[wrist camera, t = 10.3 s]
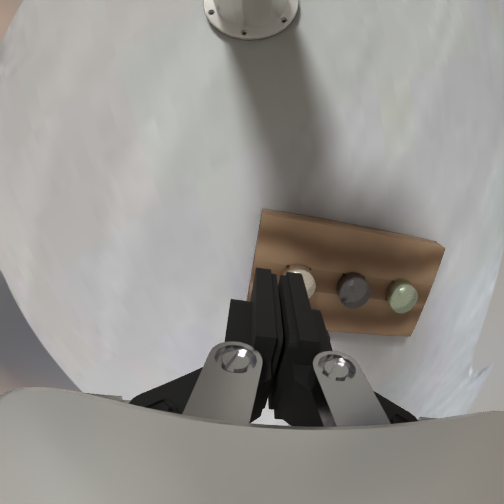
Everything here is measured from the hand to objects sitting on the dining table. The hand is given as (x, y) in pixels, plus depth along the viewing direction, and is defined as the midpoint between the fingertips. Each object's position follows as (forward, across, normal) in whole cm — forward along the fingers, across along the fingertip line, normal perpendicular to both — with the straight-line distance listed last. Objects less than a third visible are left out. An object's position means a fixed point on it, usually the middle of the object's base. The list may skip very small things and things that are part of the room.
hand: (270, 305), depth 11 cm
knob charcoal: (+30, -15, +13) cm, 36 cm away
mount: (+31, -15, +13) cm, 36 cm away
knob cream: (+30, -7, +13) cm, 34 cm away
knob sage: (+30, -23, +13) cm, 40 cm away
